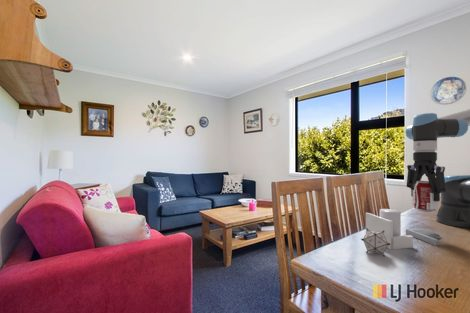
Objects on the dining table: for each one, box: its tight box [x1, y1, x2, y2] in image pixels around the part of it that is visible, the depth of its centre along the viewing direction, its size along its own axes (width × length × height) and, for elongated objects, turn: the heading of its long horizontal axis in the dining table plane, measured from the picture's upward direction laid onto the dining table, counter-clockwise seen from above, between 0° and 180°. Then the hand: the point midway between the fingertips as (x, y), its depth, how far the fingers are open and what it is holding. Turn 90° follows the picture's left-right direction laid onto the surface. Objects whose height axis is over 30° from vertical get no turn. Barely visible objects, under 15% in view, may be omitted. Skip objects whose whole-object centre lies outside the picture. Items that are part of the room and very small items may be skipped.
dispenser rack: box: [365, 208, 439, 250], centre depth 86 cm, size 20×12×12 cm, turn 99°
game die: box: [360, 227, 390, 257], centre depth 75 cm, size 9×8×10 cm
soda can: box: [413, 180, 437, 213], centre depth 91 cm, size 7×7×12 cm
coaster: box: [411, 229, 441, 240], centre depth 91 cm, size 9×9×1 cm
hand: (424, 206), depth 91 cm, fingers closed on soda can, 7 cm apart
